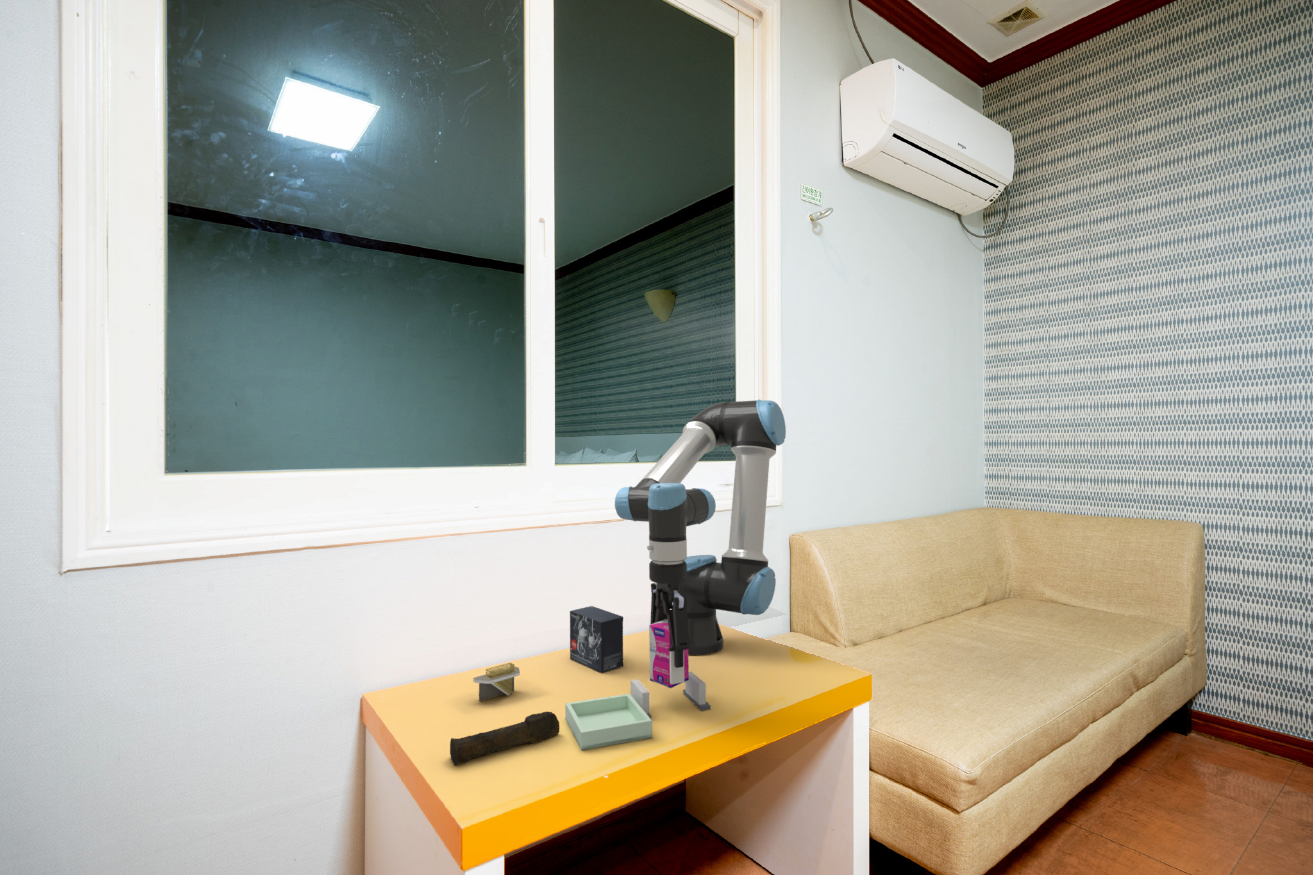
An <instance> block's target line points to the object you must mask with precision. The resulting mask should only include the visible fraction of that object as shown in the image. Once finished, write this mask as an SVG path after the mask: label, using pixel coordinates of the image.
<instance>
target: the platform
mask: <svg viewBox="0 0 1313 875" xmlns="http://www.w3.org/2000/svg"><path fill="white" fill-rule="evenodd" d="M520 674H521V671H520V667H518V666H515V664H514V663H512V662H507V663H504V664H500V665H496V666H492V667H487V668H485V674H482V675H479V676H475V677H472V681H473V683H475V684H478V702H482V701H485V700H488V699H491V698H495V697H499V696H503V695H507V696H512V694H513V692H514V691H515V677H518V676H520Z"/></svg>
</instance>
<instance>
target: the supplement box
mask: <svg viewBox="0 0 1313 875" xmlns="http://www.w3.org/2000/svg"><path fill="white" fill-rule="evenodd" d="M648 631H649V632H648V638H649V681H650V682H652V683H656V684H659V685H662V686H664V687H667V688H669V689H672V688H674V687H676V686H679V685H681V684H682V683H677V684H671V683H670V652H669V650H668V649H669V648H672V646H671V639H670V630H669V626H668V619H664V620H662V621H659V622H656V623H655V622H654V623H653V624H651V625H650V624H649V625H648ZM689 672H690V670H689V655H688V649H685V650H684V682H683V683H685V681H688V680H689Z"/></svg>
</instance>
